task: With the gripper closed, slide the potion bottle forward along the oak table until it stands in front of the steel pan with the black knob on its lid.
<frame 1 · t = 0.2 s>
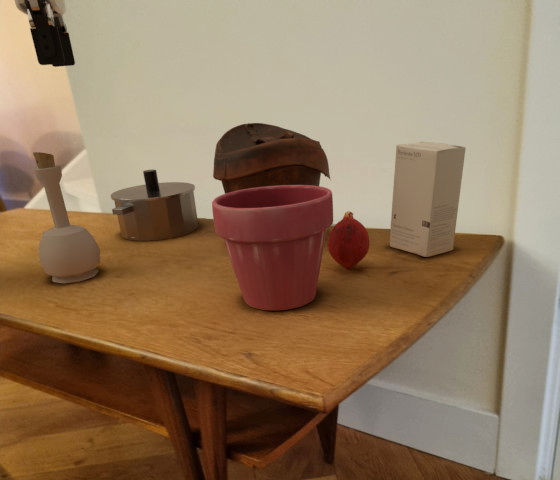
hand: (58, 65, 75), 28 cm above the table, tool pointing down, fingers open, 9 cm apart
pan: (160, 230, 107), on the table
onion: (348, 270, 78), on the table
potion bottle: (76, 277, 85), on the table
cosmetic box: (422, 250, 84), on the table
chocolate muffin: (276, 240, 95), on the table
flower pot: (280, 299, 70), on the table
pan lid: (153, 192, 103), point 7 cm above the table, touching pan
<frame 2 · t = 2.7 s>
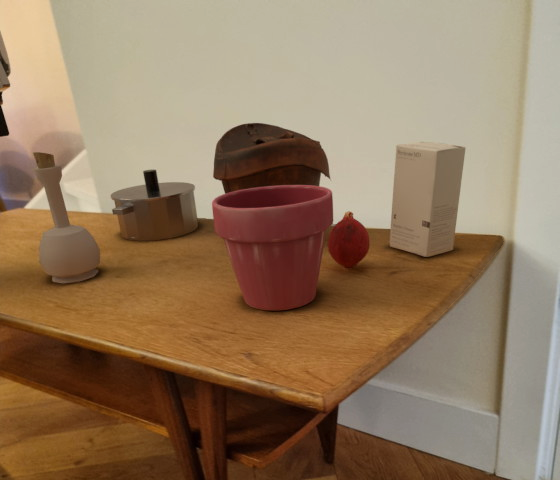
nothing on the table moved.
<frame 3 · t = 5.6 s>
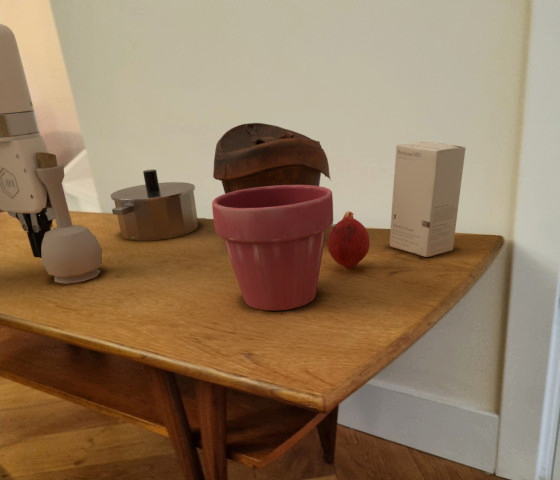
hand: (45, 255, 86), 3 cm above the table, tool pointing down, fingers closed
potion bottle: (78, 277, 85), on the table, touching gripper
everything else where it was.
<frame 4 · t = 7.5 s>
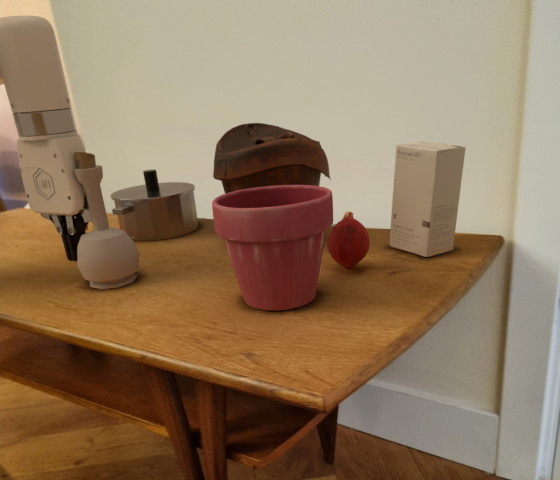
hand: (79, 258, 83), 3 cm above the table, tool pointing down, fingers closed
potion bottle: (113, 282, 81), on the table, touching gripper
everything else where it was.
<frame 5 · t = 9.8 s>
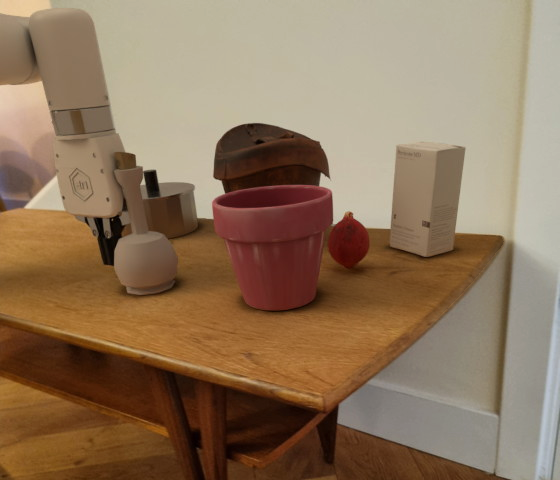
hand: (115, 262, 79), 3 cm above the table, tool pointing down, fingers closed
potion bottle: (151, 287, 78), on the table, touching gripper
everything else where it was.
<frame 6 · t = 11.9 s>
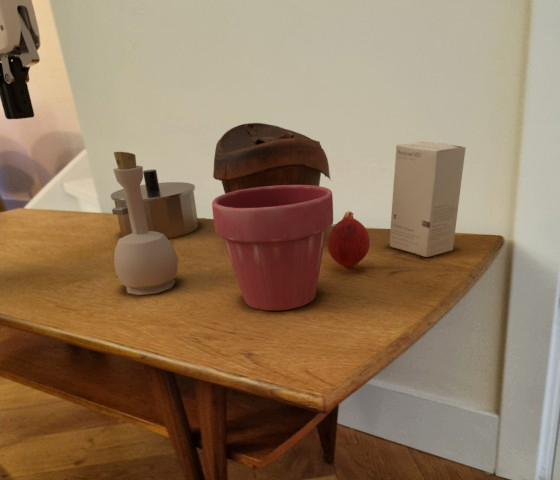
hand: (20, 117, 71), 22 cm above the table, tool pointing down, fingers closed
potion bottle: (151, 287, 78), on the table
everything else where it was.
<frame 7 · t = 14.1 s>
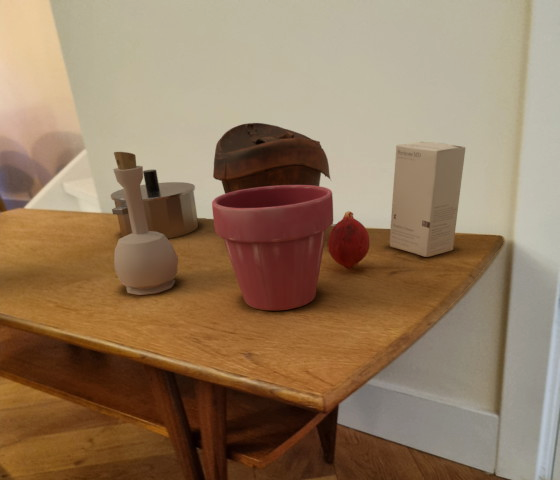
nothing on the table moved.
at the end: potion bottle tilted 0°; potion bottle moved 15.2 cm from its start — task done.
